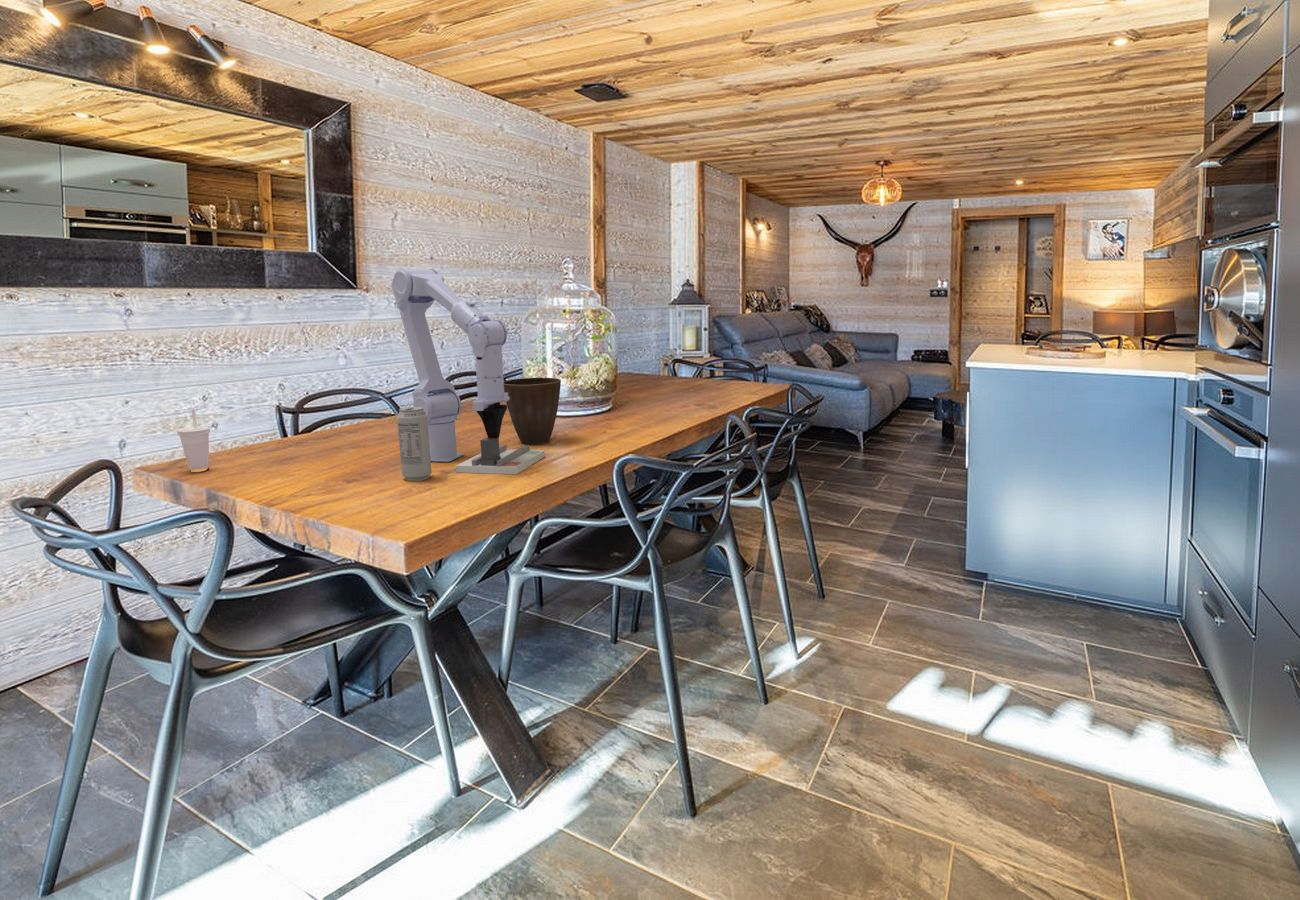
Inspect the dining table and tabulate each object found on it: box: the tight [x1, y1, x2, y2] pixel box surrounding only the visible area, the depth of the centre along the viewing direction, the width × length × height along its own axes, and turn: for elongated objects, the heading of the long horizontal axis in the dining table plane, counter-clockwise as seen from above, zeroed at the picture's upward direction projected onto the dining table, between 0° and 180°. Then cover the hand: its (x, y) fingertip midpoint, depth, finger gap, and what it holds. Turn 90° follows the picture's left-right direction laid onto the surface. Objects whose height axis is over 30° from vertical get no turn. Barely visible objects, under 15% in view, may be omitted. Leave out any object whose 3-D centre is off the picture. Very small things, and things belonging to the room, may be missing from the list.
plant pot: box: [504, 377, 562, 446], centre depth 197 cm, size 15×15×16 cm
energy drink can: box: [396, 406, 432, 482], centre depth 161 cm, size 6×6×15 cm
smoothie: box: [176, 409, 211, 469], centre depth 172 cm, size 6×6×14 cm
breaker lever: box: [479, 437, 501, 466], centre depth 167 cm, size 3×4×5 cm
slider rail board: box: [455, 444, 546, 475], centre depth 174 cm, size 14×18×3 cm
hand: (493, 438), depth 169 cm, fingers closed
